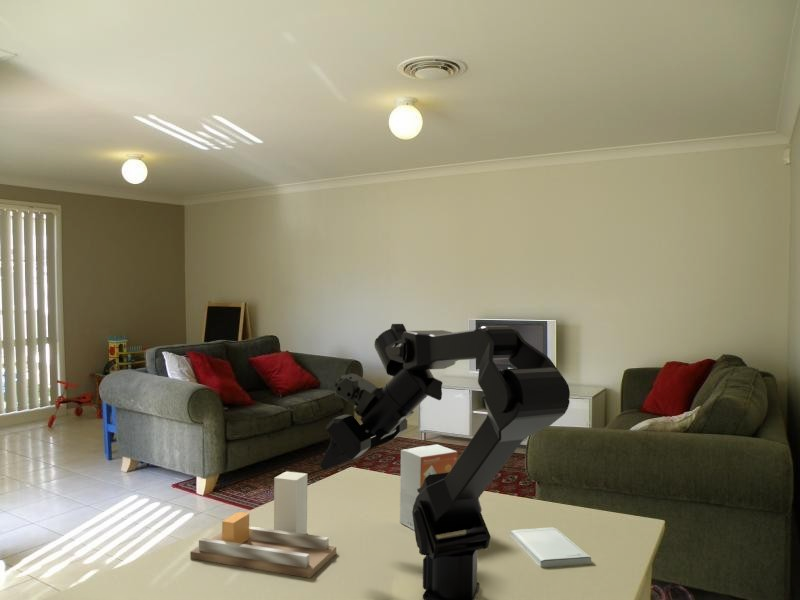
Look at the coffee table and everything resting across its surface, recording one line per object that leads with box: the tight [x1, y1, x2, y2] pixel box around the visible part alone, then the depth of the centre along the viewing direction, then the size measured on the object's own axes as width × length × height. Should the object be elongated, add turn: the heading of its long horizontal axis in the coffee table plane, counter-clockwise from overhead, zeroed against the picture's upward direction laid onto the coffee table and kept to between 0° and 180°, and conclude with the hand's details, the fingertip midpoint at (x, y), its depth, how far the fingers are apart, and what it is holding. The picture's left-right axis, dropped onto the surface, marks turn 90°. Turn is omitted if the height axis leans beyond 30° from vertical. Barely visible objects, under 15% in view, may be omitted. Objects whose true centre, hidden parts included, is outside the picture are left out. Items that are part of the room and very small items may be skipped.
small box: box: [399, 443, 458, 531], centre depth 110 cm, size 8×6×13 cm
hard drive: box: [509, 526, 592, 568], centre depth 100 cm, size 2×8×12 cm
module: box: [273, 471, 309, 534], centre depth 104 cm, size 4×4×10 cm
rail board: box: [189, 525, 337, 579], centre depth 96 cm, size 20×9×3 cm, turn 72°
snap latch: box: [221, 511, 250, 544], centre depth 98 cm, size 2×4×4 cm, turn 162°
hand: (336, 460), depth 101 cm, fingers open, 9 cm apart
